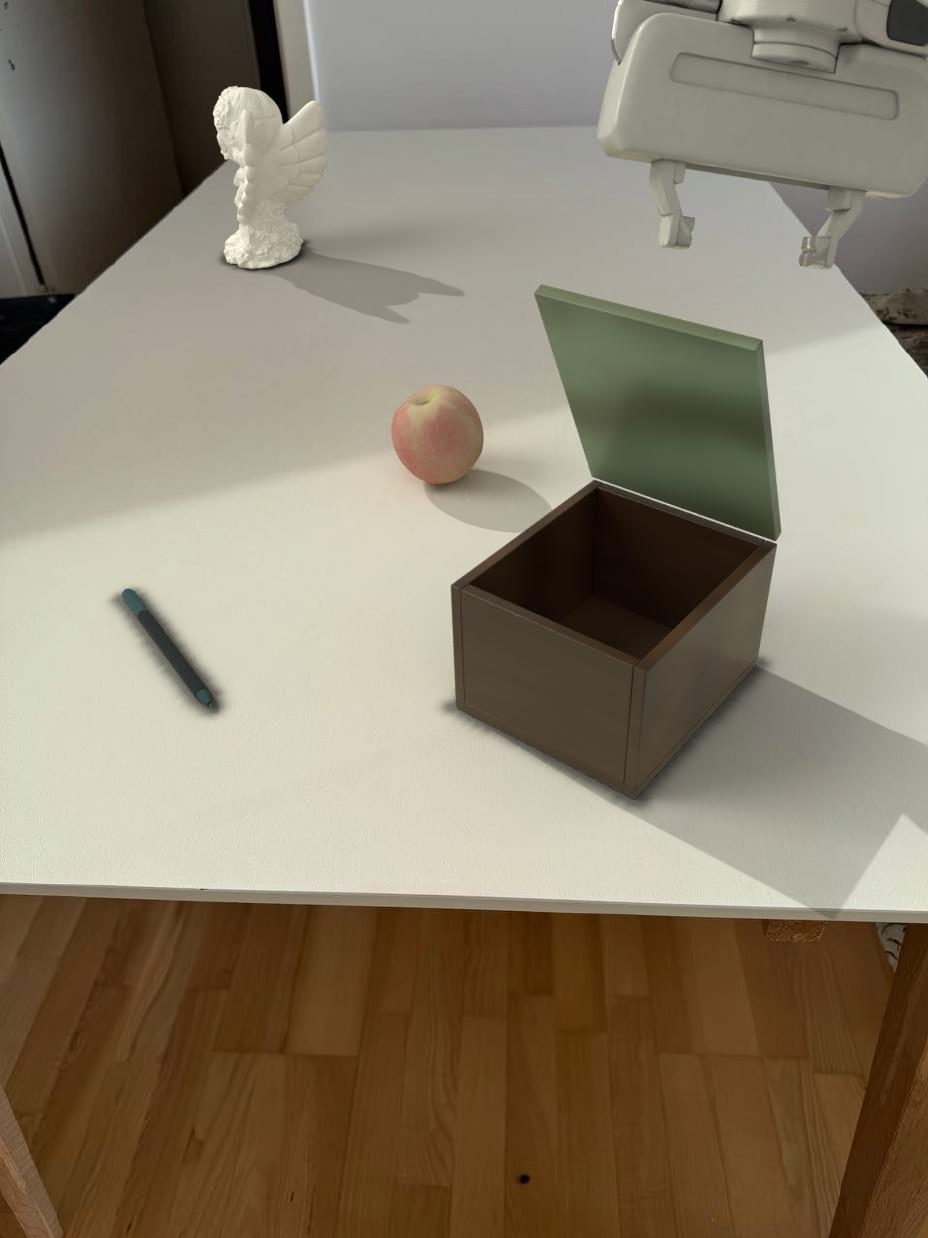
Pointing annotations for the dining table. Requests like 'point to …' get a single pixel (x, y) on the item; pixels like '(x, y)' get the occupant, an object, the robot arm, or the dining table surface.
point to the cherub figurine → (268, 171)
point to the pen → (167, 647)
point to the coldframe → (610, 631)
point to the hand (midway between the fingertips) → (745, 258)
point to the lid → (668, 407)
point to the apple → (437, 434)
